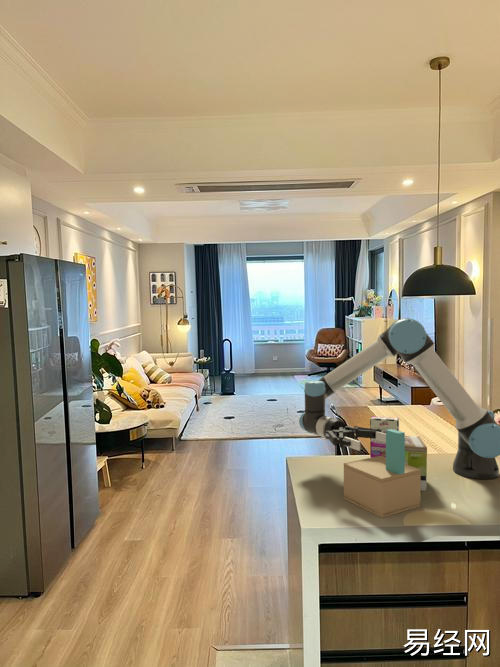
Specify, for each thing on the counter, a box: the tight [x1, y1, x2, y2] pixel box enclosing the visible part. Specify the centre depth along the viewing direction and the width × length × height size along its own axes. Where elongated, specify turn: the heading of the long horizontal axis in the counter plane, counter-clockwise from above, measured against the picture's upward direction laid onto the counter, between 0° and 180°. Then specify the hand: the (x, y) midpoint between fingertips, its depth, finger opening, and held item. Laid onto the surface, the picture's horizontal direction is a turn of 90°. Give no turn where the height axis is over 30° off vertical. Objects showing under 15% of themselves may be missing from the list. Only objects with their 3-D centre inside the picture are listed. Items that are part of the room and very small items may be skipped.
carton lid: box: [343, 429, 421, 482], centre depth 137 cm, size 16×16×13 cm
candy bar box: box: [369, 416, 400, 458], centre depth 182 cm, size 11×5×16 cm, turn 68°
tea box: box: [405, 435, 428, 492], centre depth 154 cm, size 15×10×15 cm, turn 168°
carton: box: [343, 466, 421, 518], centre depth 137 cm, size 16×16×10 cm
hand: (375, 443), depth 138 cm, fingers open, 13 cm apart
